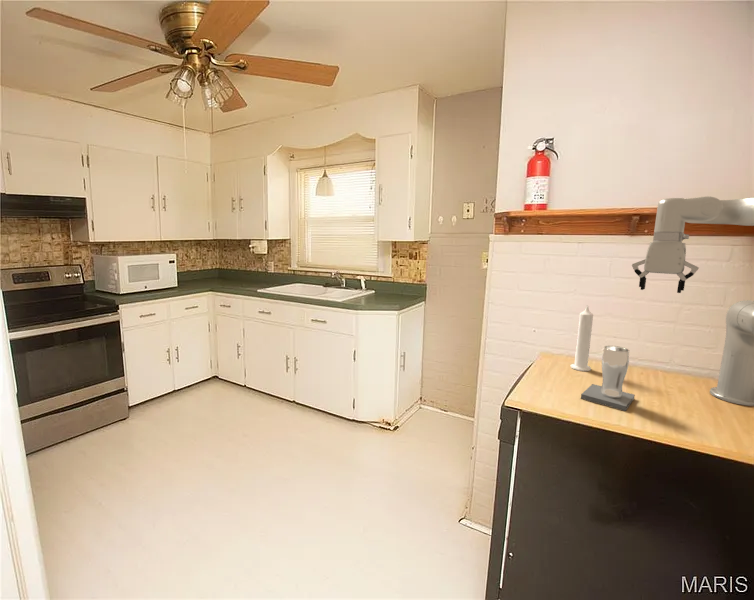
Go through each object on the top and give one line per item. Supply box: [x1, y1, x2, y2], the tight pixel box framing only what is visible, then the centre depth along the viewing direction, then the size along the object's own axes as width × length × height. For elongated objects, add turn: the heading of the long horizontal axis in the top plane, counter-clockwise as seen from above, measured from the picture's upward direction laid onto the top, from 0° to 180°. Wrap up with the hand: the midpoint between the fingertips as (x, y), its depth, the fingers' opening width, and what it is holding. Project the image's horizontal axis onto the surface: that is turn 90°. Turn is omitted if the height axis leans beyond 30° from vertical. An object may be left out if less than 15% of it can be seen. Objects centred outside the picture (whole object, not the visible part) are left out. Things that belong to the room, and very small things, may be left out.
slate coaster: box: [580, 383, 636, 412], centre depth 118 cm, size 12×12×2 cm
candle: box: [570, 305, 594, 372], centre depth 144 cm, size 7×7×25 cm
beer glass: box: [600, 345, 630, 398], centre depth 116 cm, size 7×7×15 cm
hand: (660, 291), depth 122 cm, fingers open, 9 cm apart
